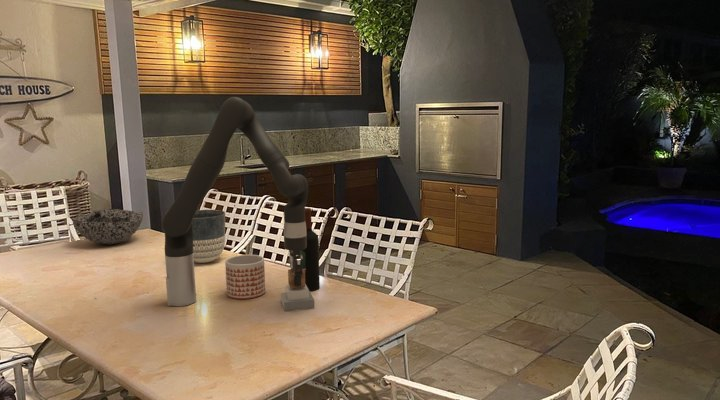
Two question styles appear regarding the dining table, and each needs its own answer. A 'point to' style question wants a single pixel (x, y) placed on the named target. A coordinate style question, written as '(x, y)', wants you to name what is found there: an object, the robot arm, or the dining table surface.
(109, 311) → the dining table surface
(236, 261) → the vase
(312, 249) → the wine bottle
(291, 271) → the walnut block
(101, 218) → the bowl
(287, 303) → the plinth
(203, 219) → the planter
